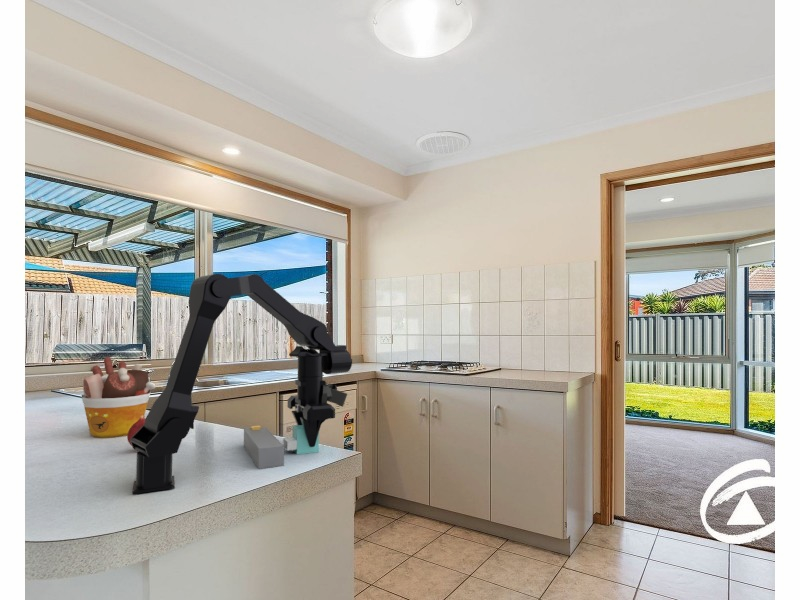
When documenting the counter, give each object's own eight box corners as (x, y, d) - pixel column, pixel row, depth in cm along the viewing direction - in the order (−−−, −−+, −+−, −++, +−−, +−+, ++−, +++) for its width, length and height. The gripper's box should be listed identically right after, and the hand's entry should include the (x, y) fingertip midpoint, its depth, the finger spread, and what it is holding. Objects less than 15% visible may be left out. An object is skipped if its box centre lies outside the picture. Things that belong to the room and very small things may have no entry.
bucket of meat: (161, 433, 125) (163, 358, 126) (88, 445, 113) (91, 361, 114) (137, 422, 139) (139, 355, 140) (70, 432, 127) (72, 357, 128)
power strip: (284, 465, 96) (284, 442, 97) (258, 469, 94) (259, 445, 94) (262, 439, 118) (262, 420, 119) (240, 441, 116) (241, 422, 116)
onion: (159, 450, 108) (160, 415, 108) (132, 456, 104) (133, 419, 104) (150, 446, 112) (151, 412, 112) (123, 451, 108) (124, 415, 108)
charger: (318, 451, 107) (318, 427, 107) (287, 455, 104) (287, 430, 104) (313, 447, 110) (313, 423, 111) (283, 451, 107) (283, 426, 108)
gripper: (357, 378, 104) (357, 450, 103) (330, 370, 121) (330, 432, 120) (308, 380, 99) (307, 456, 98) (287, 372, 116) (286, 437, 115)
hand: (309, 444), depth 108 cm, fingers closed on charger, 4 cm apart
